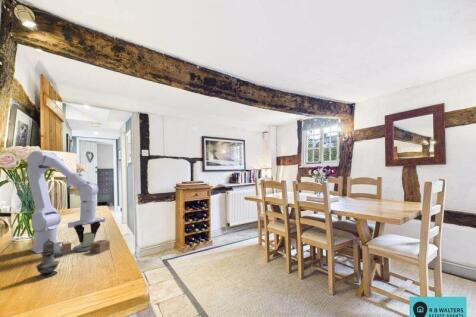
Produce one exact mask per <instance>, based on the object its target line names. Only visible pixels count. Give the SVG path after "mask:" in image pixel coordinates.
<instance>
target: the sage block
mask: <svg viewBox="0 0 476 317" xmlns="http://www.w3.org/2000/svg"><path fill="white" fill-rule="evenodd" d="M93 242H95V239H94V233H91V231H90V232H85V233H83V242H79V243H80V244H79V245H80V246H83V247H86V246H90V245H91V243H93Z"/></svg>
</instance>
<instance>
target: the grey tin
mask: <svg viewBox="0 0 476 317" xmlns="http://www.w3.org/2000/svg"><path fill="white" fill-rule="evenodd" d="M63 242H64V241H61V242H59V241H58V242H57V241H56V243H54V251H55V252H54V259H55V258H59V257H62V256H64V252H63Z"/></svg>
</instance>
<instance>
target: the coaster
mask: <svg viewBox="0 0 476 317" xmlns="http://www.w3.org/2000/svg"><path fill="white" fill-rule="evenodd" d="M72 251H73V252H74V253H85V252H87V253H88V252H90V251H91V245H90V246H86V247H83V246H80V244H78V245H75V246H74V247H73V248H72Z"/></svg>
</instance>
